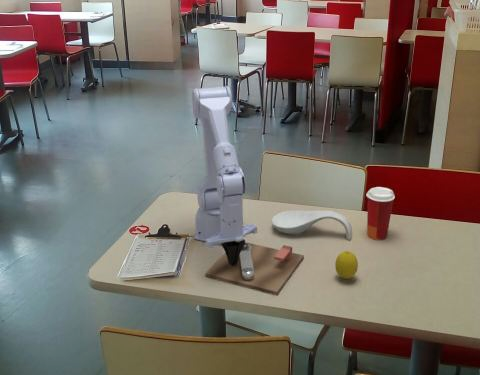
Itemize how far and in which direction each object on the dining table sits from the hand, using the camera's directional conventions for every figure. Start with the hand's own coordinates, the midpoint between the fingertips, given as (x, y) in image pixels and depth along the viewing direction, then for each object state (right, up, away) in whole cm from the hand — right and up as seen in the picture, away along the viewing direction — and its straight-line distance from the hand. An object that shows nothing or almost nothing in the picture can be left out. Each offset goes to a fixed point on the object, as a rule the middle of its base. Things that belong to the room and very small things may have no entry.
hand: (232, 263), depth 143 cm
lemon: (+29, -3, -4) cm, 29 cm away
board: (+6, -1, +1) cm, 6 cm away
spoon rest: (+23, +6, +19) cm, 31 cm away
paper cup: (+42, +6, +16) cm, 45 cm away
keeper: (+13, 0, +1) cm, 13 cm away
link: (+3, 0, 0) cm, 4 cm away
